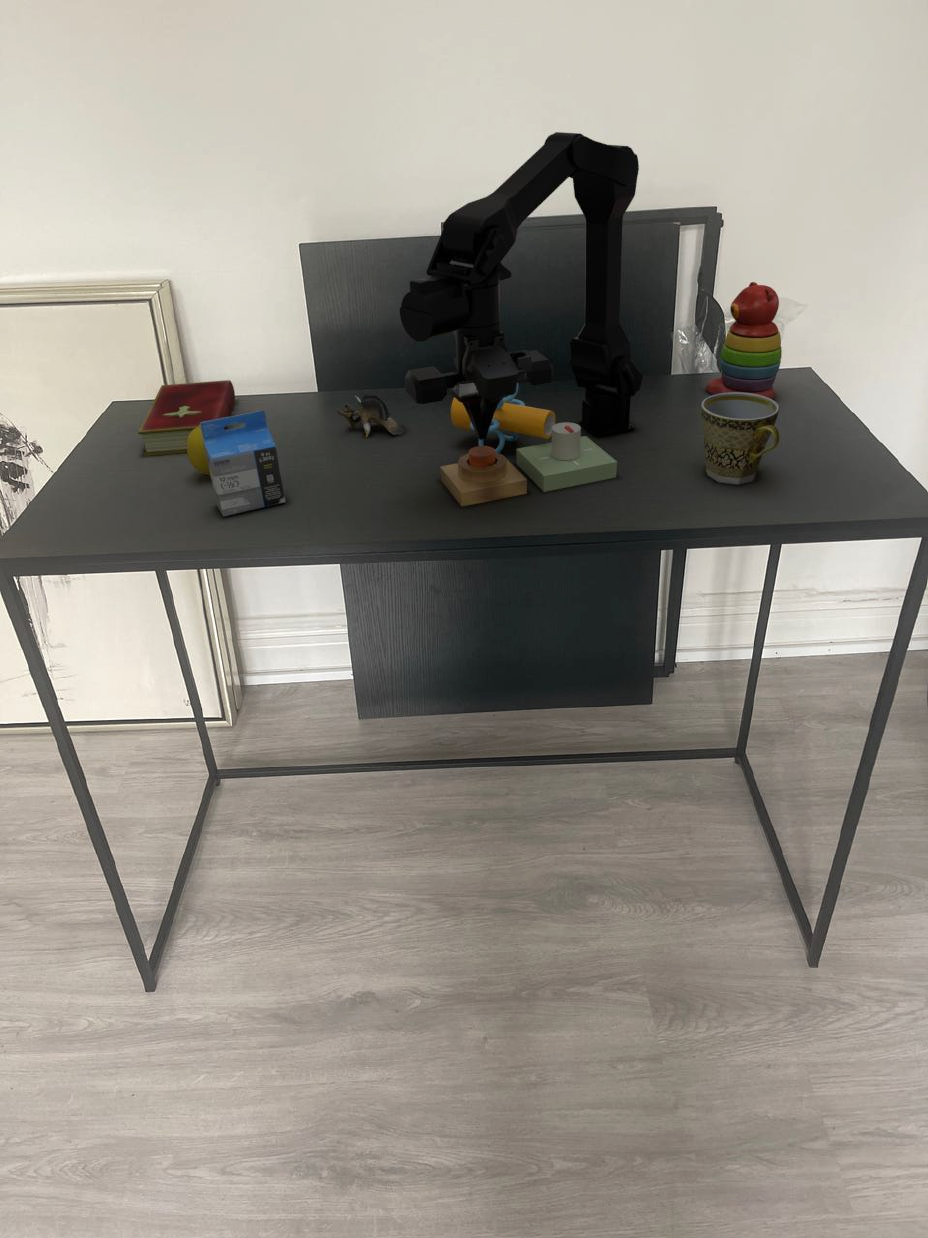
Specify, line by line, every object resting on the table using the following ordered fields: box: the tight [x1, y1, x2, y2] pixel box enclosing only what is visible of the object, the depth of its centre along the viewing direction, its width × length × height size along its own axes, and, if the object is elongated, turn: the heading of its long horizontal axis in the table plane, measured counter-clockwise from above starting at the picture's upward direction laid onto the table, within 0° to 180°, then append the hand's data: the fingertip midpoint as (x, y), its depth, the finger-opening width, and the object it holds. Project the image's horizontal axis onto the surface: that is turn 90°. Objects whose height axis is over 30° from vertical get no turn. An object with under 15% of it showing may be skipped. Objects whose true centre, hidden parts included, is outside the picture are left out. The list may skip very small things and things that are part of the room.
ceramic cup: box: [701, 392, 780, 485], centre depth 122 cm, size 13×10×10 cm
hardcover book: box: [137, 379, 236, 457], centre depth 149 cm, size 12×21×4 cm, turn 6°
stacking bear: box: [706, 281, 783, 400], centre depth 145 cm, size 11×10×18 cm
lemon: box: [187, 425, 211, 477], centre depth 131 cm, size 6×6×8 cm
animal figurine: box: [335, 394, 404, 438], centre depth 143 cm, size 8×7×9 cm
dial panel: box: [515, 435, 618, 493], centre depth 129 cm, size 11×10×3 cm
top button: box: [468, 445, 496, 467], centre depth 124 cm, size 4×4×2 cm
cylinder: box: [450, 383, 557, 454], centre depth 134 cm, size 12×10×15 cm
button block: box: [439, 452, 528, 507], centre depth 125 cm, size 10×9×4 cm
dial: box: [551, 421, 582, 460], centre depth 127 cm, size 4×4×4 cm
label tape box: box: [200, 410, 286, 517], centre depth 121 cm, size 9×4×12 cm, turn 114°
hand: (481, 438), depth 122 cm, fingers closed
